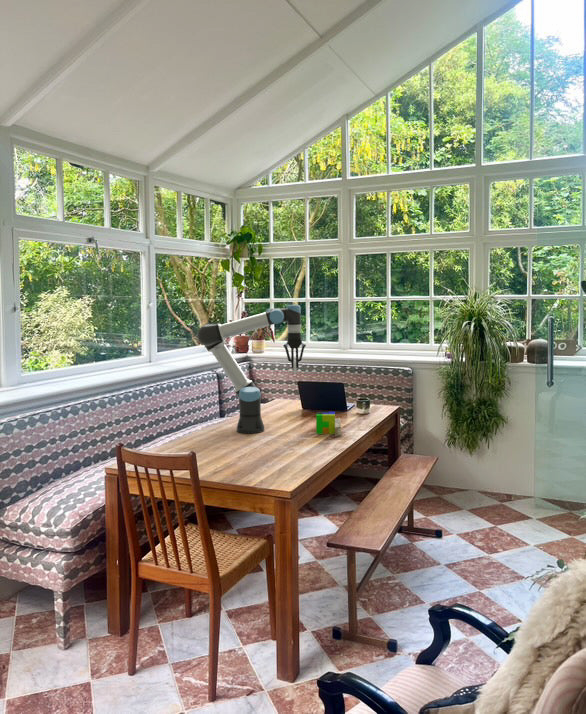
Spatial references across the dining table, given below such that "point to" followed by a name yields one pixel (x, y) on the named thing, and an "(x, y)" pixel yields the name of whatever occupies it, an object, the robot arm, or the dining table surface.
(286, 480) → the dining table surface
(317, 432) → the puzzle toy
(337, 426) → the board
